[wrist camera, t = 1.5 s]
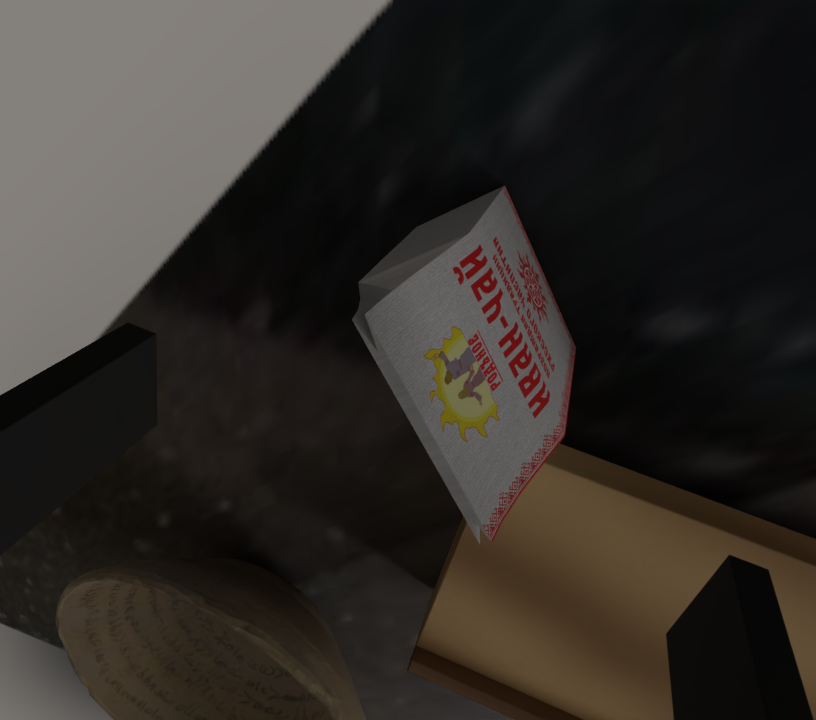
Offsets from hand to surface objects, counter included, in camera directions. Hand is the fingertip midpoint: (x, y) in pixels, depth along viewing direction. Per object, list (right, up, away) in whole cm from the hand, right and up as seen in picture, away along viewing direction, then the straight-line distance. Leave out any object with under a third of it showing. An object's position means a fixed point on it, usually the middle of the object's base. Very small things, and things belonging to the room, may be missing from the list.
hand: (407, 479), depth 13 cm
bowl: (-8, -12, +23) cm, 27 cm away
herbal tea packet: (+4, +5, +9) cm, 11 cm away
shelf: (+12, -8, +13) cm, 20 cm away
